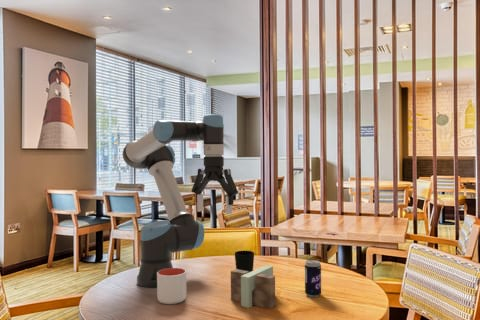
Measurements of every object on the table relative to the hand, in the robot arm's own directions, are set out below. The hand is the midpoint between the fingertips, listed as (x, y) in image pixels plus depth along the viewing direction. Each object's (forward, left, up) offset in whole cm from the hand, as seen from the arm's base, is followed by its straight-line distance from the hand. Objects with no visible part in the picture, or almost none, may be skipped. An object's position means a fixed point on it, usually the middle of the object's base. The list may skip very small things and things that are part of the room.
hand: (214, 212), depth 158 cm
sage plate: (+20, -2, -29) cm, 35 cm away
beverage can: (+34, +13, -29) cm, 46 cm away
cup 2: (+6, +11, -29) cm, 31 cm away
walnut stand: (+20, -5, -29) cm, 35 cm away
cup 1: (-5, -18, -29) cm, 34 cm away
